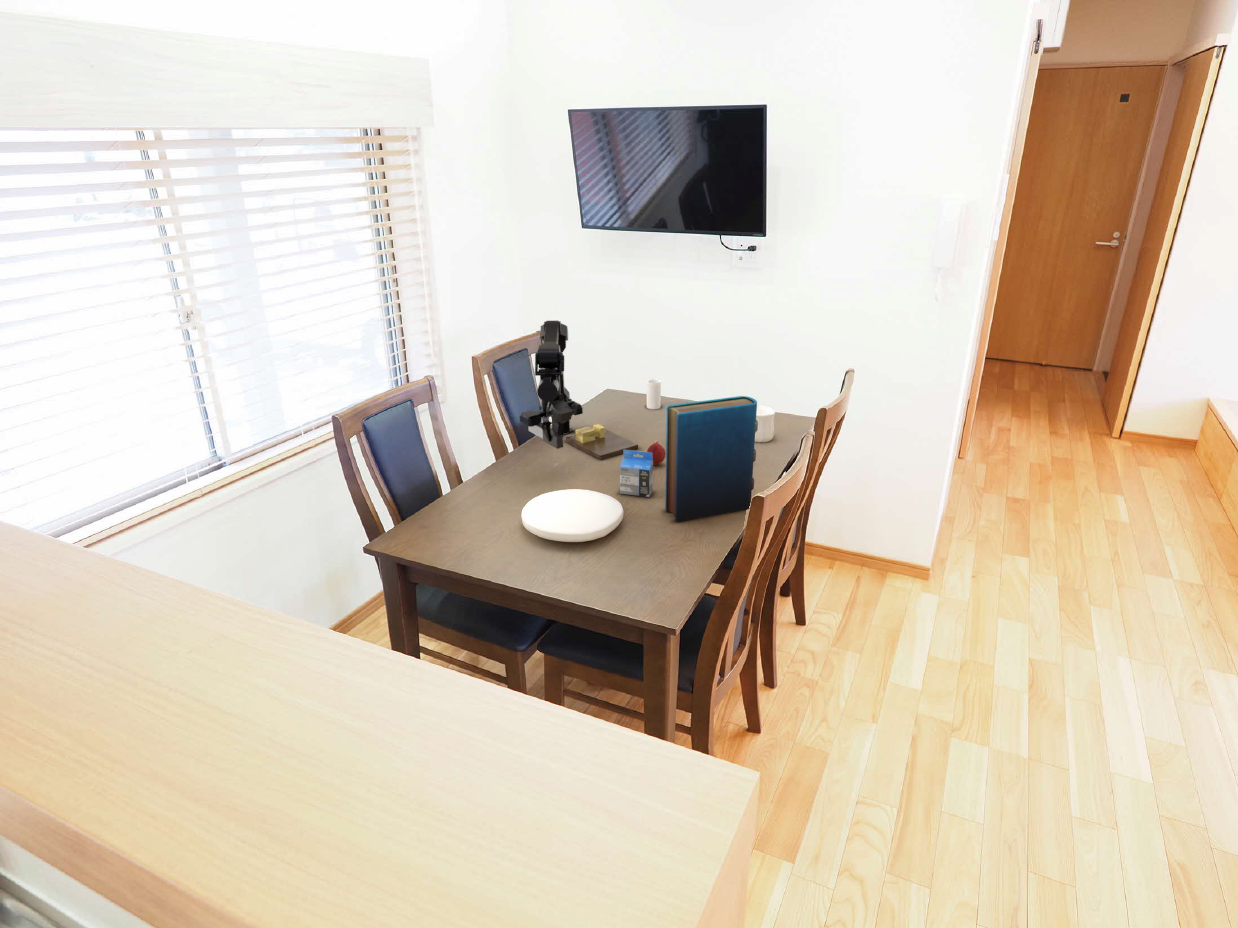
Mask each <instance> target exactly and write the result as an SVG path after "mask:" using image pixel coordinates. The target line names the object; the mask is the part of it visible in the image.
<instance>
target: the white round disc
mask: <svg viewBox="0 0 1238 928" xmlns="http://www.w3.org/2000/svg"><path fill="white" fill-rule="evenodd" d="M624 513H625V512H624V508H623V506H622V504H621V503H620V501H619V500H617V499H616V498H614V497H613V496H611V495H609V494H605V493H603V492H599V491H595V490H590V489H579V488H573V489H571V488H569V489H560V490H554V491H549V492H545V493H542V494H540V495H537V496H536V497H533V498H532V499H530V500H529V501H528V502H527V503H526V504H525V506H524V507H523V508H522V511H521V513H520V514H521V515H520V517H521V522H522V525H523V527H524V528H525V530H527V531H528V532H530V533H531V534H533V535H535V536H536V537H539V538H542V539H546V540H549V541H555V542H566V543H583V542H588V541H589V542H590V541H595V540H598V539H600V538H604V537H606V536H607V535H608V534H610V533H611V532H613V531H614V530H616V529H617V528H618V527H619V526H620V524H621V522H622V521H623V519H624Z"/></svg>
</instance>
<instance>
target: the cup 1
mask: <svg viewBox="0 0 1238 928" xmlns="http://www.w3.org/2000/svg"><path fill="white" fill-rule="evenodd" d="M661 387H662V381H661V379H657V378H651V379H647V380H646V408H647V409H648V410H659V409H661V403H662V402H661V400H662V399H661V397H662V395H661V394H662V393H661V391H662V389H661Z"/></svg>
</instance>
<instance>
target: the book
mask: <svg viewBox="0 0 1238 928" xmlns="http://www.w3.org/2000/svg"><path fill="white" fill-rule="evenodd" d="M757 406H758V401H757V399H755V398H753V397H750V396H746V395H738V396H730V397H723V398H716V399H715V398H714V399H708V400H699V401H691V402H685V403H684V402H683V403H677V404H676V403H675V404H671V405H666V425H665V426H666V427H665V428H666V429H665V432H666V434H665V435H666V436H665V437H666V439H665V441H666V442H665V453H666V455H665V497H664V499H665V500H664V501H665V503H664V504H665V505H664V507H665V508H664V509H665V511H664V512H666V513H671V514H673V516H674V522H675V523H681V522H687V521H691V520H697V519H702V518H703V519H704V518H708V517H714V516H719V515H725V514H730V513H736V512H741V511H747V510H750V508H749V506H750V503H751V504H752V494H753V493H752V492H753V490H754V489H755V478H754V476H753V475H754V463H755V462H756V460H757V449H756V448H755V444H756V442H755V432H757V430H758V421H757V420H756V412H757Z"/></svg>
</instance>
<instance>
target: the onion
mask: <svg viewBox="0 0 1238 928" xmlns="http://www.w3.org/2000/svg"><path fill="white" fill-rule="evenodd" d="M659 443H660V442H659V441H658V440H655V441H654V442H653V443H652V444H651V445H650V446H649V447H648V448H647V450H646V452H650V453H652V457H653V466H658V465H660V464H661V463H662V462H664V461H665V460H666V449H665V448H664V446H662V445H661V444H659Z"/></svg>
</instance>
